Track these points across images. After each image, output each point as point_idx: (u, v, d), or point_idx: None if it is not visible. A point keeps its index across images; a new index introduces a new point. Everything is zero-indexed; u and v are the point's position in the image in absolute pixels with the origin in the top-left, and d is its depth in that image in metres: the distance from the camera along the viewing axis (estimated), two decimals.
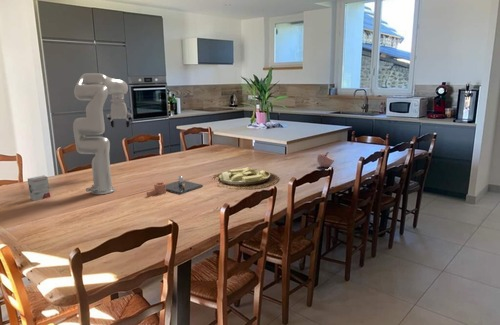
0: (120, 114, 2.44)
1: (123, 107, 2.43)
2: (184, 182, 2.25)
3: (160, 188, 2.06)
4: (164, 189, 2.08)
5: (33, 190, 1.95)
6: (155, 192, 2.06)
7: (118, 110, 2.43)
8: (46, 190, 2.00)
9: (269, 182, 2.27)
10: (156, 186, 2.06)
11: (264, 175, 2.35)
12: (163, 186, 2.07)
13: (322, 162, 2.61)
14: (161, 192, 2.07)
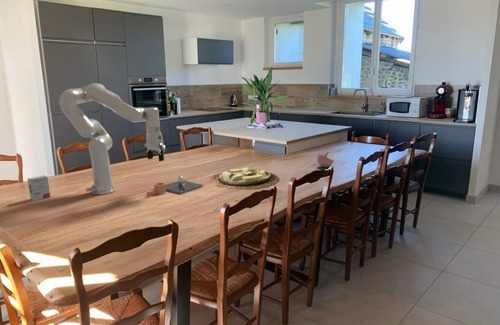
0: None
1: None
2: (184, 182, 2.25)
3: (160, 188, 2.06)
4: (164, 189, 2.08)
5: (33, 190, 1.95)
6: (155, 192, 2.06)
7: None
8: (46, 190, 2.00)
9: (269, 182, 2.27)
10: (156, 186, 2.06)
11: (264, 175, 2.35)
12: (163, 186, 2.07)
13: (322, 162, 2.61)
14: (161, 192, 2.07)
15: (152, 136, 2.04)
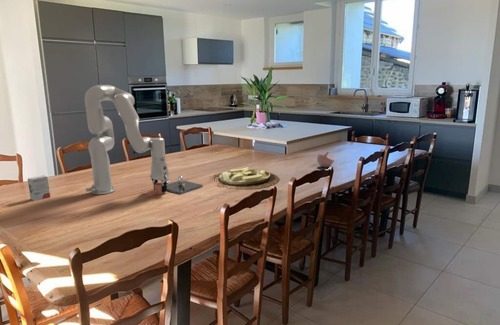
0: None
1: None
2: (184, 182, 2.25)
3: (160, 188, 2.06)
4: None
5: (33, 190, 1.95)
6: (155, 192, 2.06)
7: None
8: (46, 190, 2.00)
9: (269, 182, 2.27)
10: (156, 186, 2.06)
11: (264, 175, 2.35)
12: None
13: (322, 162, 2.61)
14: (161, 192, 2.07)
15: (157, 166, 2.03)
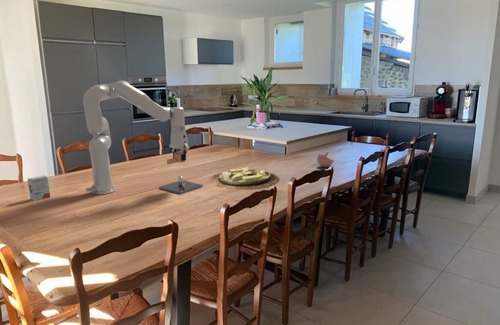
0: None
1: None
2: (184, 182, 2.25)
3: (180, 156, 2.11)
4: None
5: (33, 190, 1.95)
6: (175, 160, 2.11)
7: None
8: (46, 190, 2.00)
9: (269, 182, 2.27)
10: (176, 155, 2.11)
11: (264, 175, 2.35)
12: None
13: (322, 162, 2.61)
14: (180, 160, 2.12)
15: (177, 135, 2.08)
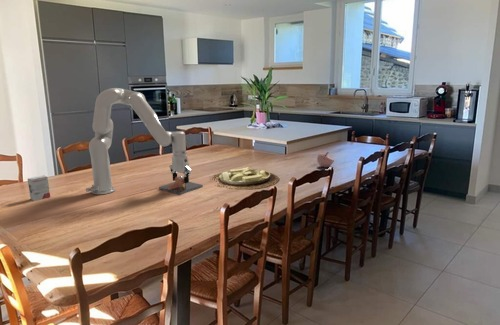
0: None
1: None
2: None
3: (181, 182, 2.14)
4: (184, 183, 2.16)
5: (33, 190, 1.95)
6: (176, 185, 2.14)
7: None
8: (46, 190, 2.00)
9: (269, 182, 2.27)
10: (177, 180, 2.14)
11: (264, 175, 2.35)
12: (183, 180, 2.15)
13: (322, 162, 2.61)
14: (181, 185, 2.15)
15: (178, 159, 2.11)
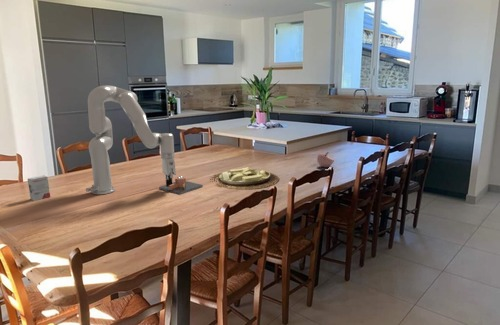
0: None
1: None
2: None
3: (181, 182, 2.14)
4: (184, 183, 2.16)
5: (33, 190, 1.95)
6: (176, 185, 2.14)
7: None
8: (46, 190, 2.00)
9: (269, 182, 2.27)
10: (177, 180, 2.14)
11: (264, 175, 2.35)
12: (184, 180, 2.15)
13: (322, 162, 2.61)
14: (182, 185, 2.15)
15: (164, 161, 2.07)
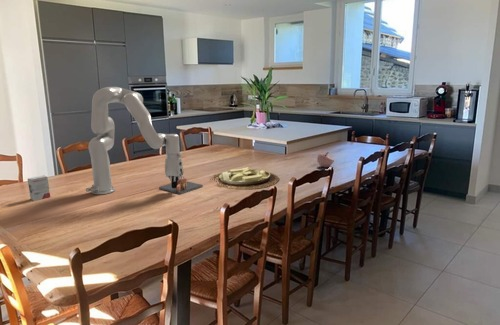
0: None
1: None
2: None
3: (184, 181, 2.15)
4: (186, 182, 2.17)
5: (33, 190, 1.95)
6: (181, 186, 2.13)
7: None
8: (46, 190, 2.00)
9: (269, 182, 2.27)
10: (180, 180, 2.14)
11: (264, 175, 2.35)
12: (186, 179, 2.16)
13: (322, 162, 2.61)
14: (185, 185, 2.16)
15: (172, 163, 2.04)
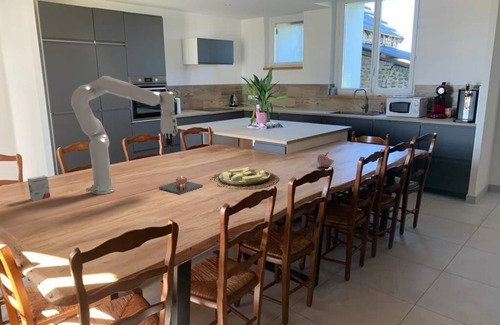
0: None
1: None
2: None
3: (185, 181, 2.16)
4: (186, 182, 2.18)
5: (33, 190, 1.95)
6: None
7: None
8: (46, 190, 2.00)
9: (269, 182, 2.27)
10: (182, 180, 2.14)
11: (264, 175, 2.35)
12: (186, 179, 2.17)
13: (322, 162, 2.61)
14: (186, 185, 2.16)
15: (166, 119, 2.10)
